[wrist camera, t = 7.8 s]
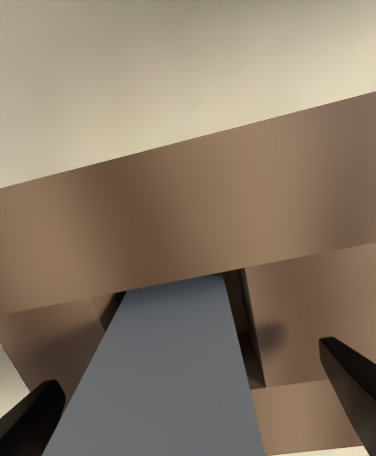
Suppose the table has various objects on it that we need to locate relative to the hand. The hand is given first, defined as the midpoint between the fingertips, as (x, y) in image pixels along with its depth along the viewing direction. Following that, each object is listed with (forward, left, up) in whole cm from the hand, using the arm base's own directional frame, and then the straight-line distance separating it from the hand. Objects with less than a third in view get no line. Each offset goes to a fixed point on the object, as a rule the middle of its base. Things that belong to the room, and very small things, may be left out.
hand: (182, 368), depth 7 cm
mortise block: (0, 0, -5) cm, 5 cm away
